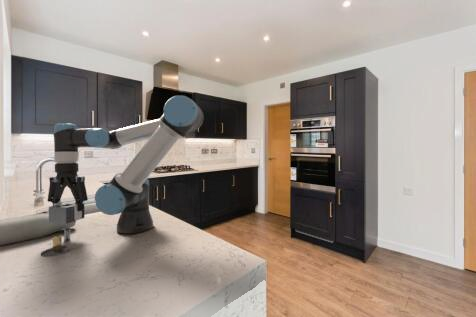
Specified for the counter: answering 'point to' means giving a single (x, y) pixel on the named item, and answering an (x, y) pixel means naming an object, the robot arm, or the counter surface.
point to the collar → (63, 213)
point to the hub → (56, 248)
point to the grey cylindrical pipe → (28, 228)
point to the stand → (66, 235)
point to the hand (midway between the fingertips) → (68, 219)
